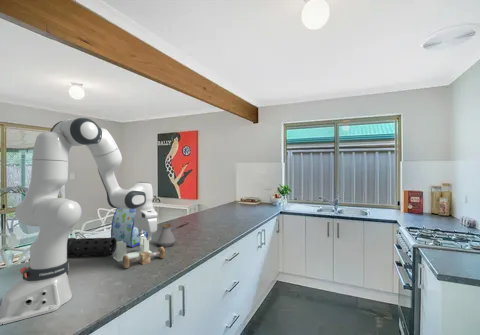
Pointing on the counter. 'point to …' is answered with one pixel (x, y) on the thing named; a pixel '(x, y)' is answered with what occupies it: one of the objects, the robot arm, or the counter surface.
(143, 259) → the brown block with rod
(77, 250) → the black foam roller
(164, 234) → the coffee pot
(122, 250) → the brackets
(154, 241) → the counter surface
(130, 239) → the lunch bag
